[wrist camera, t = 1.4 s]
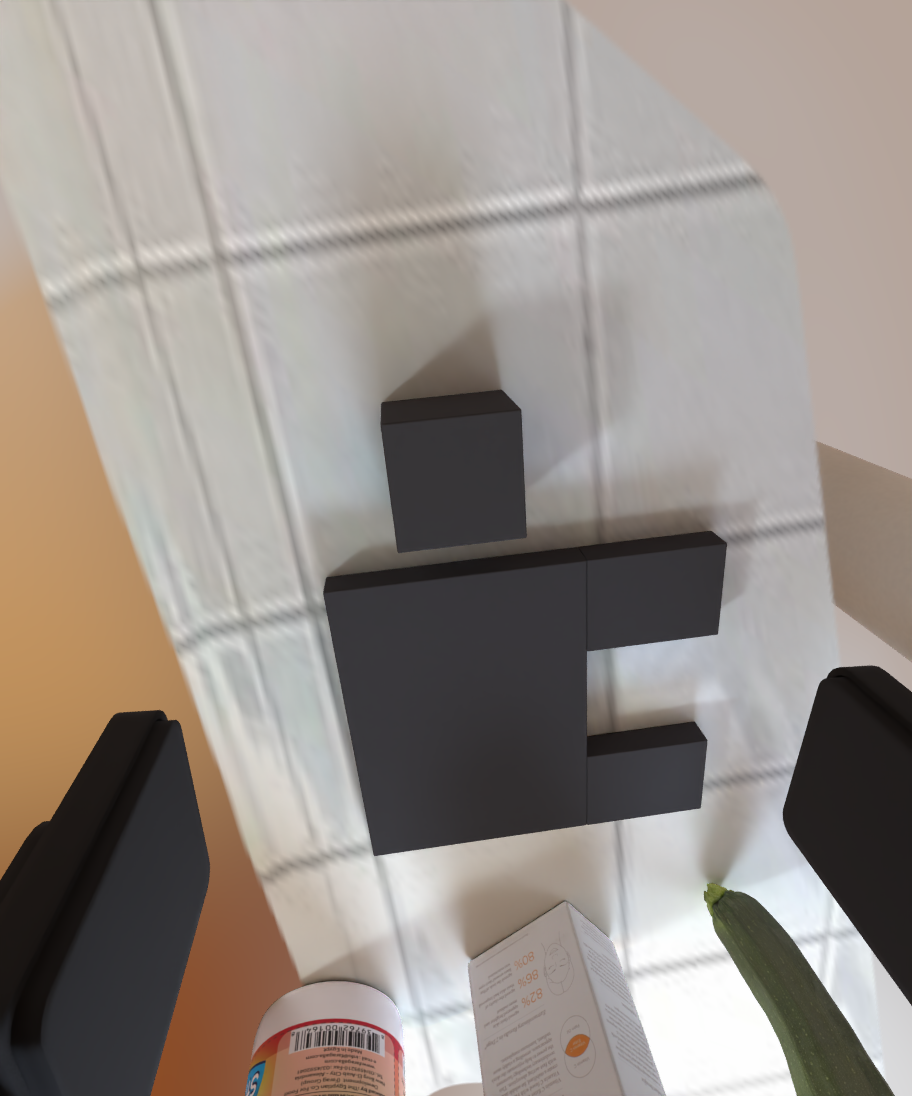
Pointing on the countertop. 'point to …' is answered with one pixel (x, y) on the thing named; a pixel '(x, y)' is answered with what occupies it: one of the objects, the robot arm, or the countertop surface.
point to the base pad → (515, 688)
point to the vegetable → (793, 1001)
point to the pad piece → (454, 470)
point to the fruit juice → (329, 1044)
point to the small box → (558, 1014)
